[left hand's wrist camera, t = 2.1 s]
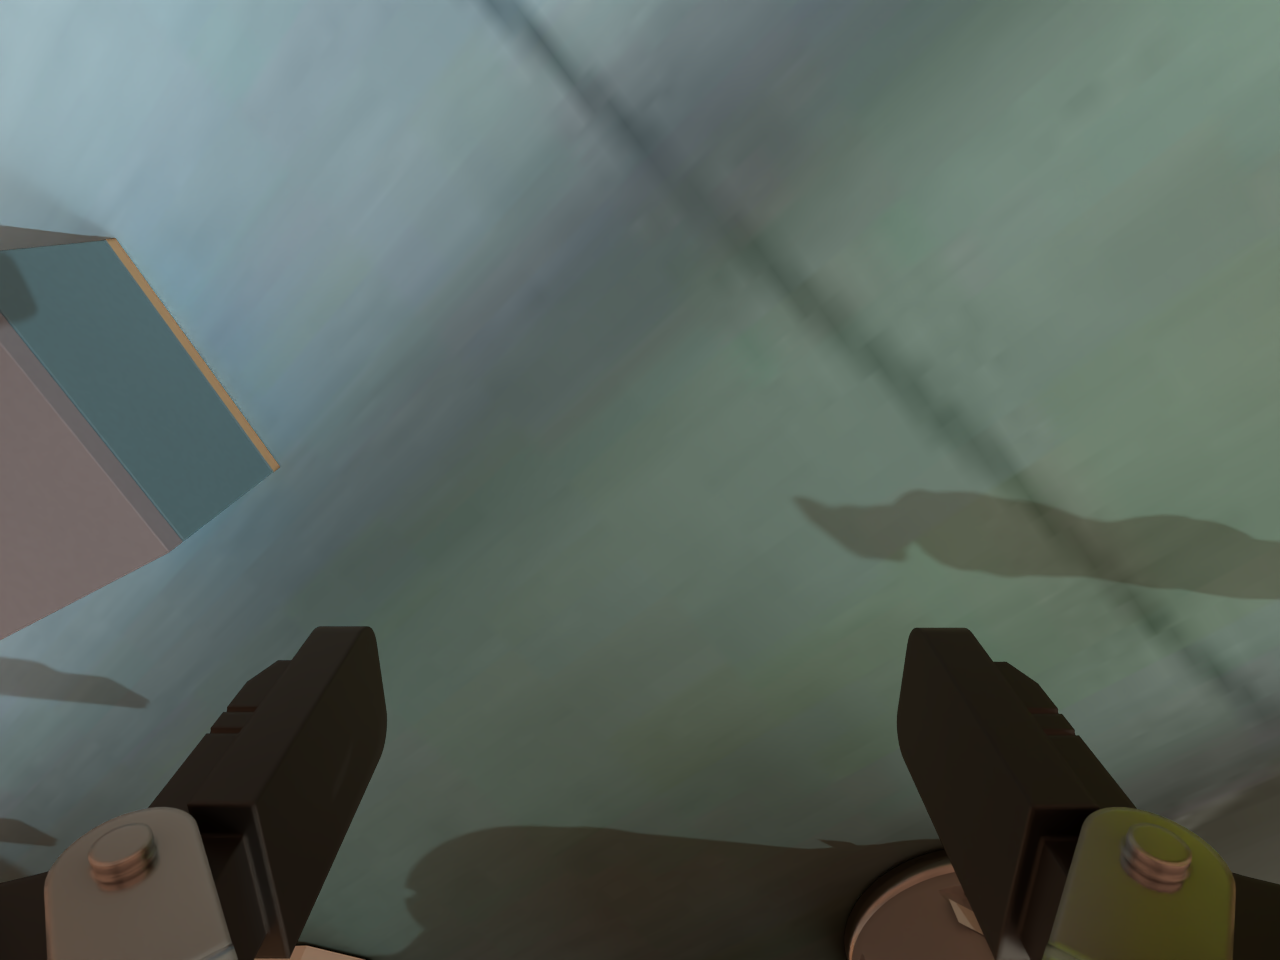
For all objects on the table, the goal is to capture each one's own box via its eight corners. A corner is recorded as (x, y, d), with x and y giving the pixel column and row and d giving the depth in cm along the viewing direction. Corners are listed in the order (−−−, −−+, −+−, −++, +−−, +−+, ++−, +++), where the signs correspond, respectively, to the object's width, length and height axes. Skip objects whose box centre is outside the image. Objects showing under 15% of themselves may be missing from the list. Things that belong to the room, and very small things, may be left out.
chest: (-33, 329, 38) (-227, 370, 30) (115, 238, 36) (-44, 253, 28) (139, 540, 42) (13, 630, 34) (280, 467, 40) (184, 541, 32)
